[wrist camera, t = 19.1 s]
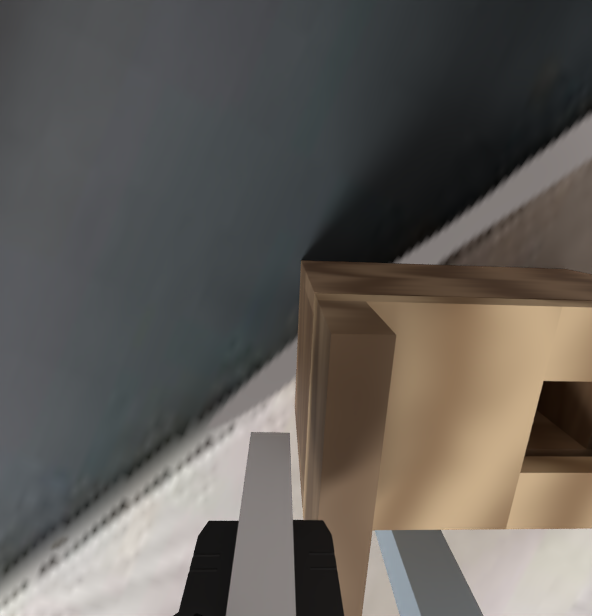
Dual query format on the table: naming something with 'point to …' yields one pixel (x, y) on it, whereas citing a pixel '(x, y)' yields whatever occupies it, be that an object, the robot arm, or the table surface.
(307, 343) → the open wooden box
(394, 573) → the blue-gray rectangular block
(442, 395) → the tan holed block
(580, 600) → the table surface
